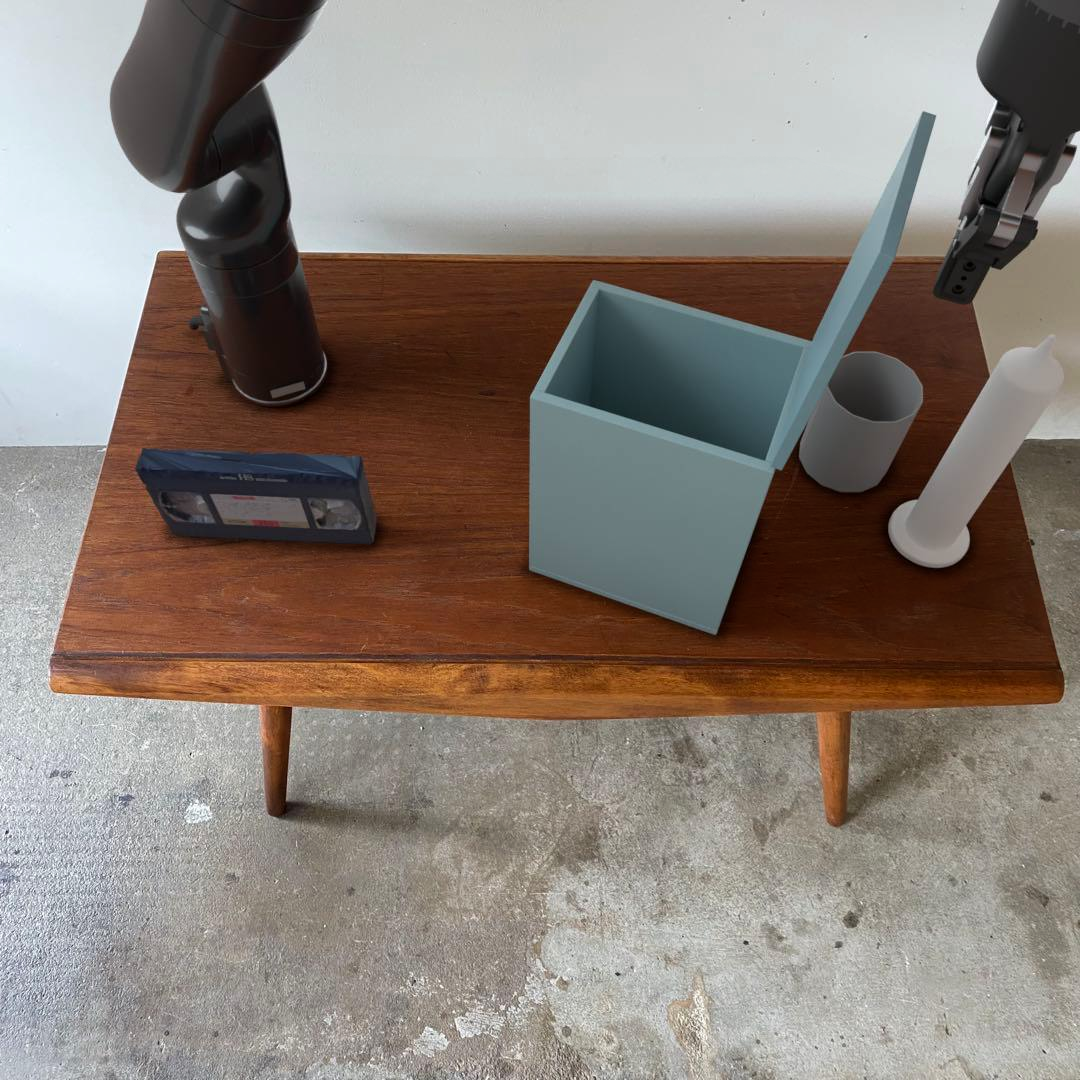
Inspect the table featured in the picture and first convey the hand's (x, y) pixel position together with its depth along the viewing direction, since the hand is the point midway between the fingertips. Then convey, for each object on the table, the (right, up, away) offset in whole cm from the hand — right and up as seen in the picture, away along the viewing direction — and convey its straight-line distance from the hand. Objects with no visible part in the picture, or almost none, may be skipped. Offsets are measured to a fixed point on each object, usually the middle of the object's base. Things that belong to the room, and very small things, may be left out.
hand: (951, 293), depth 55 cm
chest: (-14, -14, +32) cm, 38 cm away
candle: (+12, -14, +33) cm, 37 cm away
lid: (-5, 0, +3) cm, 6 cm away
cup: (+6, -6, +38) cm, 39 cm away
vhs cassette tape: (-47, -13, +32) cm, 59 cm away
